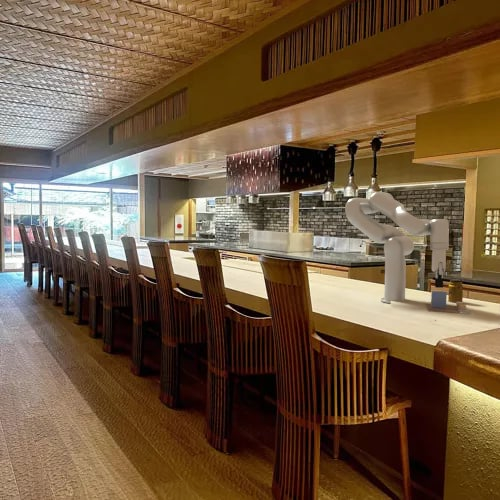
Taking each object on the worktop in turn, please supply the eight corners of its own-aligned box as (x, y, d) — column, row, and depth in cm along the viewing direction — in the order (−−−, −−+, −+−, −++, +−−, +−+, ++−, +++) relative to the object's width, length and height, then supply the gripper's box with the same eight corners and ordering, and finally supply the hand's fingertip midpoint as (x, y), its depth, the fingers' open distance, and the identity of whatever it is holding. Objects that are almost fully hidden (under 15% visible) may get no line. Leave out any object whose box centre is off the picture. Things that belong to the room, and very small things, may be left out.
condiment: (444, 303, 208) (445, 278, 207) (462, 303, 208) (463, 278, 207) (451, 306, 200) (452, 280, 200) (470, 306, 200) (471, 280, 200)
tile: (430, 306, 192) (431, 290, 192) (445, 307, 190) (446, 291, 190) (431, 306, 191) (431, 291, 190) (446, 307, 189) (446, 291, 188)
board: (424, 307, 198) (425, 303, 198) (463, 309, 193) (463, 306, 193) (428, 315, 181) (428, 311, 181) (471, 317, 176) (471, 314, 176)
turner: (454, 305, 193) (454, 301, 193) (464, 306, 192) (464, 302, 192) (460, 313, 177) (460, 308, 177) (471, 314, 176) (471, 309, 176)
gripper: (428, 246, 203) (428, 285, 204) (432, 247, 189) (431, 289, 189) (446, 246, 201) (445, 285, 201) (450, 247, 186) (450, 289, 187)
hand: (439, 287), depth 195 cm, fingers closed
